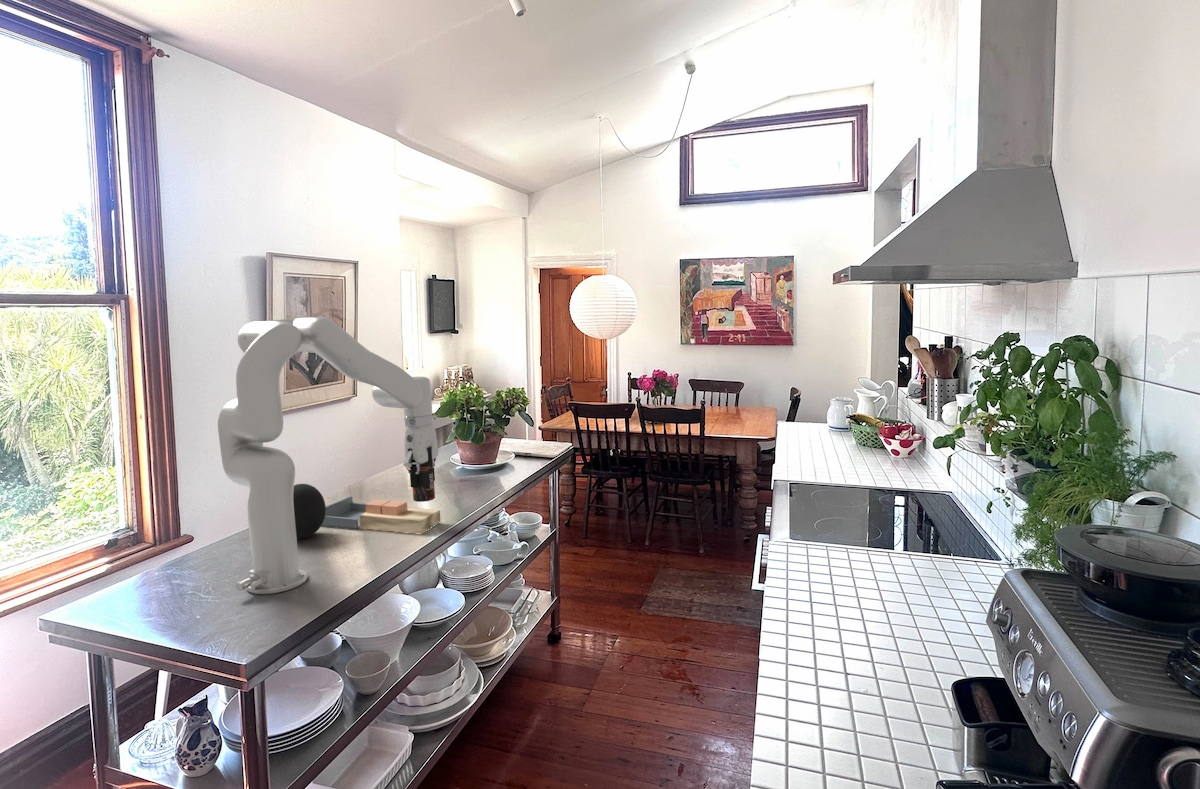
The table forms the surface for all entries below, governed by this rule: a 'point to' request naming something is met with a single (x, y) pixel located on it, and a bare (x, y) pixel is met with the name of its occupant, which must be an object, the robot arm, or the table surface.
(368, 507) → the tile
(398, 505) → the tile
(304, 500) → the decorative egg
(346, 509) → the tray
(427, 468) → the deodorant
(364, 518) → the board
